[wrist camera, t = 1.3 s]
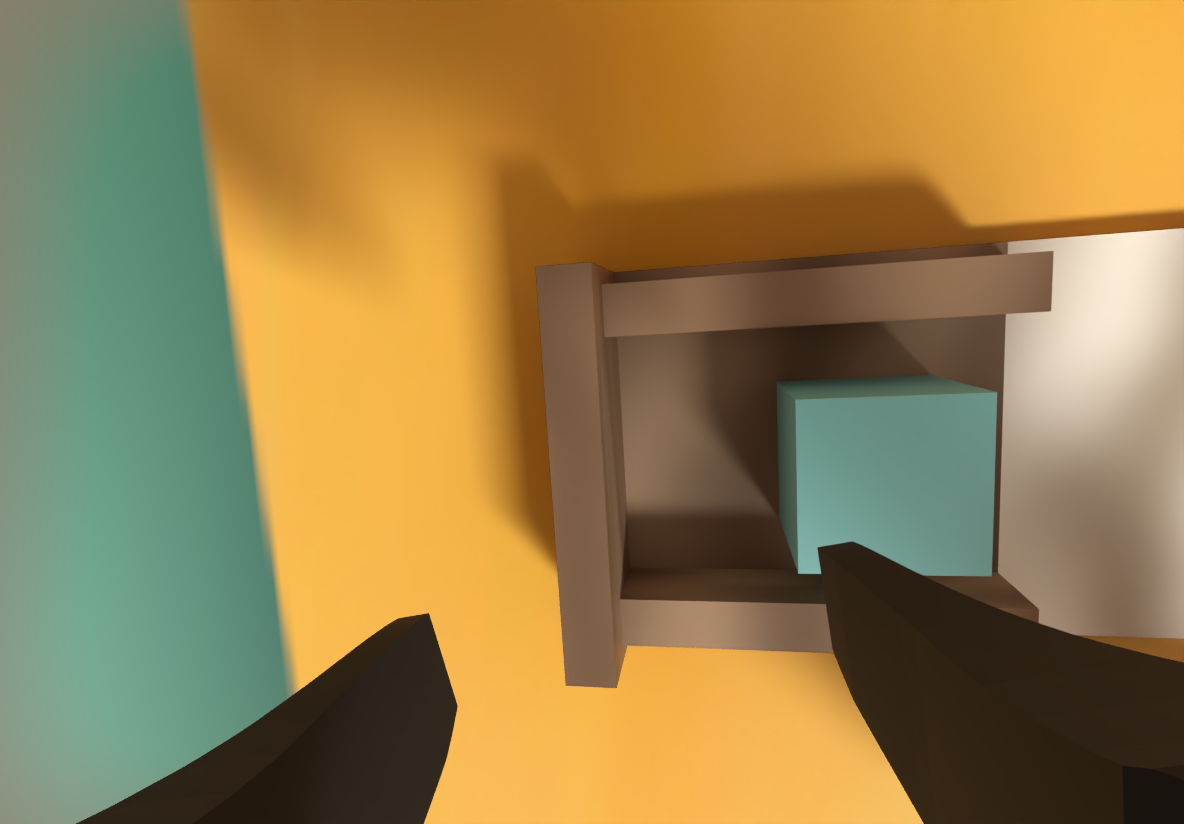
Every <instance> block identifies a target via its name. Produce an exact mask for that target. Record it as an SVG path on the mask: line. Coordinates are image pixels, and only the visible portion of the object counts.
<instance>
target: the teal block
mask: <svg viewBox="0 0 1184 824" xmlns="http://www.w3.org/2000/svg"><path fill="white" fill-rule="evenodd" d="M996 417H997V392H994V391H990V390H986V389H983V388H979V387H975V386H971V385H968V384H964V383H960V382H956V381H953V380H949V379H945V378H941V377H937V376H934V375H913V376H890V377H866V378H842V379H818V380H794V381H777V424H778V473H779V519H780V522H781V525H782V527H783V530H784V533H785V536H786V539H787V542H788V545H789V548H790V551H791V554H792V557H793V560H794V563H795V566H796V568H797V571H798V574H821V569H820V562H819V556H818V549H817V547H822V546H828V545H834V544H840V543H845V542H851V541H853V542H856V543H858V544H861V545H863V546H865V547H867V548H869V549H871V550H873V551H875V552H877V553H879V554H881V555H883V556H885V557H887V558H889V559H891V560H893V561H895V562H897V563H899V564H901V565H903V566H905V567H907V568H909V569H911V570H913V571H915V572H917V573H919V574H921V575H926V576H992V554H993V520H994V486H995V452H996Z"/></svg>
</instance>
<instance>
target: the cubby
mask: <svg viewBox="0 0 1184 824" xmlns="http://www.w3.org/2000/svg"><path fill="white" fill-rule="evenodd" d="M535 269H536V282H537V296H538V310H539V324H540V337H541V351H542V365H543V379H544V392H545V406H546V420H547V434H548V447H549V461H550V475H551V489H552V502H553V516H554V530H555V544H556V557H557V571H558V585H559V599H560V612H561V626H562V640H563V654H564V667H565V681H566V686H584V687H604V688H617V684H618V680H619V676H620V672H621V668H622V664H623V661H624V657H625V653H626V649H627V645H630V646H657V647H684V648H711V649H737V650H764V651H791V652H818V653H834V652H833V649H832V643H831V636H830V629H829V623H828V616H827V609H826V603H825V596H824V589H823V583H822V576H821V574H798V571H797V568H796V566H795V563H794V560H793V557H792V554H791V551H790V548H789V545H788V542H787V539H786V536H785V533H784V530H783V527H782V525H781V522H780V519H779V473H778V424H777V381H794V380H818V379H842V378H866V377H890V376H913V375H934V376H937V377H941V378H945V379H949V380H953V381H956V382H960V383H964V384H968V385H971V386H975V387H979V388H983V389H986V390H990V391H994V392H997V417H996V452H995V486H994V520H993V554H992V576H926V575H923V576H925V577H927V578H929V579H931V580H933V581H935V582H938V583H940V584H942V585H944V586H946V587H948V588H951V589H953V590H955V591H957V592H960V593H962V594H964V595H967V596H969V597H971V598H974V599H976V600H979V601H981V602H984V603H986V604H988V605H991V606H993V607H996V608H998V609H1001V610H1003V611H1006V612H1008V613H1011V614H1014V615H1017V616H1019V617H1022V618H1025V619H1028V620H1031V621H1034V622H1037V623H1040V624H1043V625H1046V626H1049V627H1052V628H1055V629H1058V630H1061V631H1064V632H1067V633H1070V634H1073V635H1079V636H1112V637H1145V638H1179V639H1184V228H1180V229H1167V230H1154V231H1141V232H1129V233H1116V234H1103V235H1090V236H1077V237H1064V238H1051V239H1038V240H1025V241H1013V242H1000V243H987V244H974V245H961V246H948V247H935V248H922V249H910V250H897V251H884V252H871V253H858V254H845V255H832V256H819V257H807V258H794V259H781V260H768V261H755V262H742V263H729V264H716V265H704V266H691V267H678V268H665V269H652V270H639V271H626V272H612V271H609V270H607V269H605V268H603V267H601V266H598V265H596V264H594V263H592V262H586V263H573V264H561V265H549V266H536V267H535Z"/></svg>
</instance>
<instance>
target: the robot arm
mask: <svg viewBox="0 0 1184 824" xmlns="http://www.w3.org/2000/svg"><path fill="white" fill-rule="evenodd" d="M817 549H818V556H819V562H820V569H821V576H822V583H823V589H824V596H825V603H826V609H827V616H828V623H829V629H830V636H831V643H832V649H833V652H834V654H835V657H836V659H837V661H838V664H839V666H840V669H841V671H842V674H843V676H844V679H845V681H846V683H847V686H848V688H849V690H850V693H851V695H852V697H853V700H854V702H855V703H856V705H857V707H858V709H859V711H860V713H861V714H862V716H863V718H864V720H865V721H866V723H867V725H868V727H869V728H870V730H871V732H872V734H873V736H874V737H875V739H876V741H877V743H878V744H879V746H880V748H881V750H882V751H883V753H884V755H885V757H886V758H887V760H888V762H889V764H890V765H891V767H892V769H893V771H894V772H895V774H896V776H897V778H898V779H899V781H900V783H901V785H902V786H903V788H904V790H905V791H906V793H907V795H908V797H909V798H910V800H911V802H912V804H913V805H914V807H915V809H916V811H917V812H918V814H919V816H920V818H921V819H922V821H923V823H924V824H1184V663H1183V662H1178V661H1174V660H1169V659H1164V658H1160V657H1156V656H1152V655H1148V654H1144V653H1140V652H1136V651H1132V650H1128V649H1124V648H1120V647H1117V646H1113V645H1109V644H1105V643H1101V642H1098V641H1094V640H1091V639H1087V638H1084V637H1080V636H1077V635H1073V634H1070V633H1067V632H1064V631H1061V630H1058V629H1055V628H1052V627H1049V626H1046V625H1043V624H1040V623H1037V622H1034V621H1031V620H1028V619H1025V618H1022V617H1019V616H1017V615H1014V614H1011V613H1008V612H1006V611H1003V610H1001V609H998V608H996V607H993V606H991V605H988V604H986V603H984V602H981V601H979V600H976V599H974V598H971V597H969V596H967V595H964V594H962V593H960V592H957V591H955V590H953V589H951V588H948V587H946V586H944V585H942V584H940V583H938V582H935V581H933V580H931V579H929V578H927V577H925V576H923V575H921V574H919V573H917V572H915V571H913V570H911V569H909V568H907V567H905V566H903V565H901V564H899V563H897V562H895V561H893V560H891V559H889V558H887V557H885V556H883V555H881V554H879V553H877V552H875V551H873V550H871V549H869V548H867V547H865V546H863V545H861V544H858V543H856V542H853V541H851V542H845V543H840V544H834V545H828V546H822V547H817ZM456 712H457V703H456V699H455V696H454V693H453V690H452V686H451V683H450V680H449V677H448V674H447V670H446V667H445V664H444V661H443V657H442V654H441V651H440V648H439V644H438V641H437V638H436V635H435V632H434V628H433V625H432V622H431V619H430V615H429V613H428V614H422V615H416V616H410V617H404V618H398V619H397V620H395V621H393V622H391V623H390V624H388V625H387V626H385V627H384V628H382V629H381V630H379V631H378V632H376V633H375V634H374V635H372V636H371V637H369V638H368V639H367V640H365V641H364V642H363V643H361V644H360V645H359V646H357V647H356V648H355V649H353V650H352V651H351V652H350V653H348V654H347V655H346V656H344V657H343V658H342V659H340V660H339V661H338V662H336V663H335V664H334V665H333V666H331V667H330V668H329V669H327V670H326V671H325V672H323V673H322V674H321V675H319V676H318V677H317V678H316V679H314V680H313V681H312V682H310V683H309V684H308V685H306V686H305V687H303V688H302V689H301V690H299V691H298V692H296V693H295V694H294V695H292V696H291V697H289V698H288V699H287V700H285V701H284V702H283V703H281V704H280V705H278V706H277V707H276V708H274V709H273V710H271V711H270V712H269V713H267V714H266V715H264V716H263V717H262V718H260V719H259V720H258V721H256V722H255V723H253V724H252V725H250V726H249V727H247V728H246V729H244V730H243V731H241V732H240V733H238V734H237V735H235V736H233V737H232V738H230V739H229V740H227V741H226V742H224V743H222V744H221V745H219V746H217V747H216V748H214V749H213V750H211V751H209V752H208V753H206V754H205V755H203V756H201V757H200V758H198V759H196V760H195V761H193V762H191V763H190V764H188V765H186V766H185V767H183V768H181V769H179V770H178V771H176V772H174V773H172V774H170V775H168V776H167V777H165V778H163V779H161V780H159V781H157V782H155V783H154V784H152V785H150V786H148V787H146V788H144V789H143V790H141V791H139V792H137V793H135V794H134V795H132V796H130V797H128V798H126V799H124V800H122V801H121V802H119V803H117V804H115V805H113V806H111V807H109V808H107V809H105V810H103V811H101V812H99V813H97V814H95V815H93V816H91V817H89V818H87V819H85V820H83V821H81V822H79V823H77V824H424V821H425V818H426V816H427V813H428V810H429V807H430V805H431V802H432V799H433V796H434V793H435V791H436V788H437V785H438V782H439V779H440V776H441V773H442V771H443V768H444V765H445V762H446V758H447V754H448V750H449V746H450V741H451V737H452V732H453V727H454V722H455V717H456Z"/></svg>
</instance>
